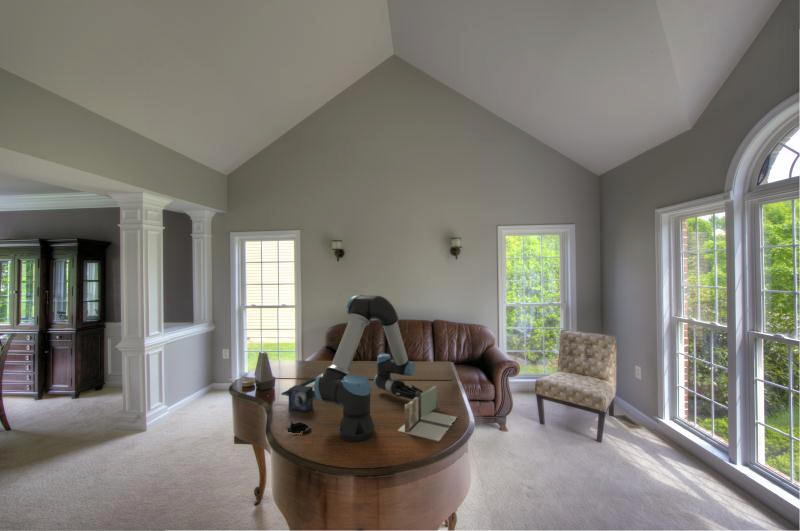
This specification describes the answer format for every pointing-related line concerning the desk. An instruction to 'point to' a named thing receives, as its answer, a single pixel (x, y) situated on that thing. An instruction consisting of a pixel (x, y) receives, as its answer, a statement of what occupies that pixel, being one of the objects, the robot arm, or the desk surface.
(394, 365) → the robot arm
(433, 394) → the hinged panel
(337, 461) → the desk surface
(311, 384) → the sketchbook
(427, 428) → the card
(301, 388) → the small box
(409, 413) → the fixed fence
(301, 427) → the black jagged lump
